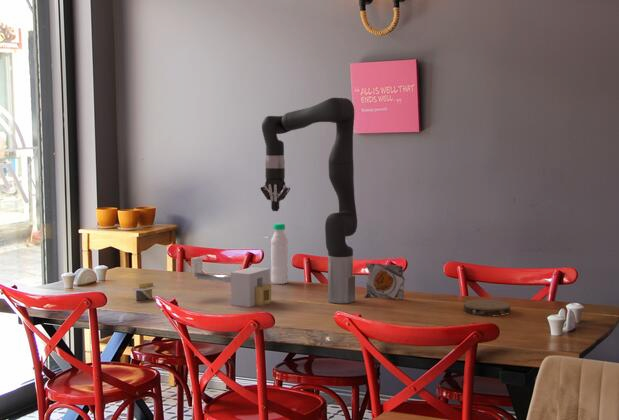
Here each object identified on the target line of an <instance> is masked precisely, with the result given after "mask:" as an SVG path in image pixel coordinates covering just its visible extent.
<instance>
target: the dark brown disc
mask: <svg viewBox="0 0 619 420" xmlns="http://www.w3.org/2000/svg"><path fill="white" fill-rule="evenodd" d="M463 312H464V313H466V314H468V315H472V316H479V317H494V316H493V315H501V314H506V313H509V312H510V313H511V304H510V303H509V302H506V301H502V300H496V299H470V300H466V301H464V303H463Z"/></svg>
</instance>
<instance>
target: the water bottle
mask: <svg viewBox="0 0 619 420" xmlns="http://www.w3.org/2000/svg"><path fill="white" fill-rule="evenodd" d="M285 229H286V225H285V223H274V224H273V230H274V232H273V235H272V237H271V239H270V244H271V245H270V246H271V247H270V258H271V259H270V263H271V264H270V265H271V267H270V283H271V284H273V285H286V284H287V283H288V282H289V275H288V273H289V269H288V262H289V259H288V258H289V256H288V254H289V252H288V249H289V248H288V242H289V241H288V238H287V237H286V234H285ZM285 283H286V284H285Z"/></svg>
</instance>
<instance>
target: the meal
mask: <svg viewBox="0 0 619 420" xmlns="http://www.w3.org/2000/svg"><path fill="white" fill-rule="evenodd" d="M365 267H366V268H367V271H368V272H369V274H367V275H366V277H367V280H366V282H365V284H366V286H365V287H366V293H365V296H364V297H363V298H364V299H366V298H384V297H391V298H390V299H393V298H396V299H397V298H398V299H399V298H400V299H399V300H402V299H403V300H404V298H405V297H404V296H405V293H404V292H405V291H404V288H405V280H406V279H405V276H404V266H403V265H395V264H383V263H377V262H375V263H373V262H371V263H368V262H366V263H365ZM401 287H402V289H401Z"/></svg>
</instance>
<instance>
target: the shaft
mask: <svg viewBox="0 0 619 420" xmlns="http://www.w3.org/2000/svg"><path fill="white" fill-rule="evenodd" d="M190 270H191V271H190V272H191V274H190V276H191V277H192V278H196V279H198V280H204V281H214V282H225V283H231V275H225V274H213V273H206V272H205V273H204V272H203V256H197V257H191V259H190Z"/></svg>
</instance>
